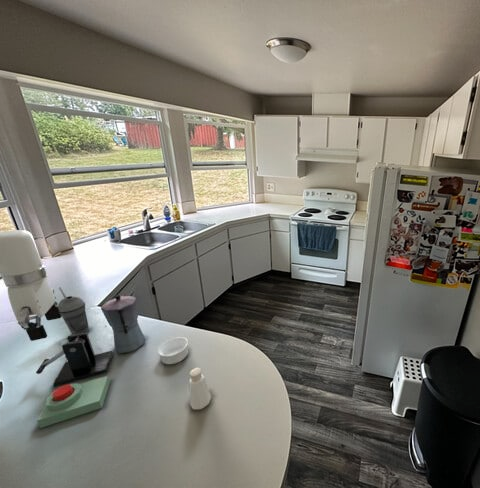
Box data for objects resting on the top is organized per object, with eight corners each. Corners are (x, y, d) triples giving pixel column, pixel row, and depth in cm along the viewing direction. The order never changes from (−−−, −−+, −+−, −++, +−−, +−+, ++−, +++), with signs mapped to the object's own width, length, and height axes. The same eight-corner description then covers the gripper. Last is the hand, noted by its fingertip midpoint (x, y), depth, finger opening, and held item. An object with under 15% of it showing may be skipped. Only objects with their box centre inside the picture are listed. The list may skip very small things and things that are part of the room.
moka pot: (142, 328, 98) (130, 284, 91) (152, 350, 88) (139, 301, 81) (111, 340, 92) (96, 293, 85) (118, 364, 82) (101, 313, 75)
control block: (40, 428, 63) (34, 415, 61) (56, 398, 70) (50, 386, 68) (101, 408, 68) (97, 395, 66) (110, 382, 75) (106, 371, 74)
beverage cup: (92, 335, 94) (76, 288, 87) (65, 342, 90) (46, 294, 83) (95, 324, 100) (80, 279, 93) (70, 330, 96) (52, 284, 89)
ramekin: (174, 369, 81) (171, 358, 79) (153, 361, 83) (151, 351, 82) (195, 350, 89) (193, 340, 87) (176, 344, 91) (174, 334, 90)
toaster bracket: (54, 387, 73) (40, 355, 69) (66, 365, 81) (54, 335, 77) (106, 372, 79) (95, 342, 75) (113, 353, 86) (104, 324, 82)
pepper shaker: (200, 413, 68) (195, 383, 64) (185, 406, 69) (179, 376, 65) (215, 396, 72) (211, 367, 69) (201, 390, 74) (195, 361, 70)
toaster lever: (40, 375, 73) (32, 371, 71) (48, 363, 77) (40, 359, 75) (81, 348, 75) (74, 343, 74) (87, 337, 79) (80, 333, 78)
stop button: (51, 403, 64) (49, 398, 64) (57, 392, 67) (55, 387, 67) (70, 398, 66) (68, 393, 65) (75, 387, 69) (73, 382, 68)
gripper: (22, 266, 73) (43, 315, 78) (-17, 294, 58) (12, 352, 64) (58, 261, 76) (75, 309, 82) (28, 288, 62) (52, 343, 68)
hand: (47, 328), depth 73 cm, fingers open, 9 cm apart
